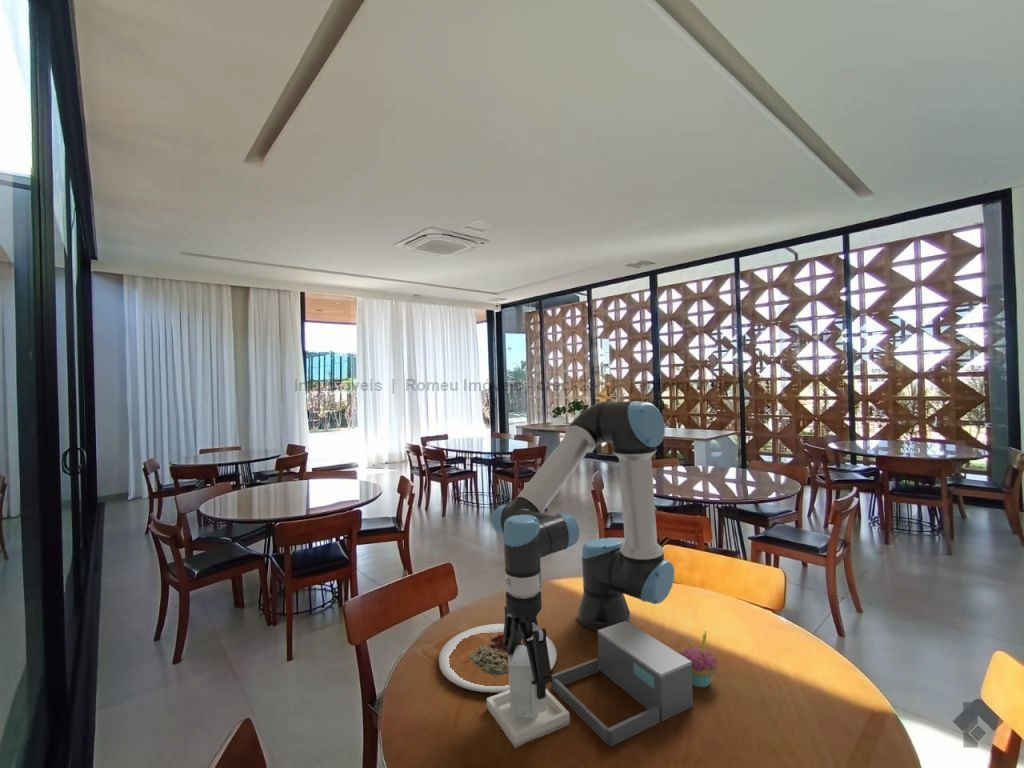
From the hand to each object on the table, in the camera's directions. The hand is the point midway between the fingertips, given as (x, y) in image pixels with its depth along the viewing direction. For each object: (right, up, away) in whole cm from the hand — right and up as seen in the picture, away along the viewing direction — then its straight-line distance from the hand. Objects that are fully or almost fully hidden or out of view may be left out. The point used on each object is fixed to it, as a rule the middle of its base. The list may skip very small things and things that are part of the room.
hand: (526, 697), depth 99 cm
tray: (0, -4, 0) cm, 4 cm away
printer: (+21, -3, +5) cm, 22 cm away
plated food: (-7, -5, +21) cm, 23 cm away
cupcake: (+40, -3, +10) cm, 41 cm away
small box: (0, -2, 0) cm, 2 cm away
